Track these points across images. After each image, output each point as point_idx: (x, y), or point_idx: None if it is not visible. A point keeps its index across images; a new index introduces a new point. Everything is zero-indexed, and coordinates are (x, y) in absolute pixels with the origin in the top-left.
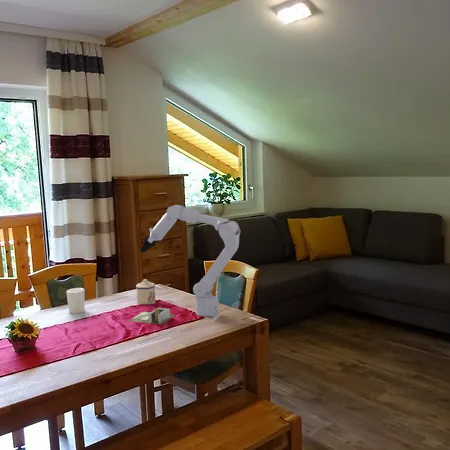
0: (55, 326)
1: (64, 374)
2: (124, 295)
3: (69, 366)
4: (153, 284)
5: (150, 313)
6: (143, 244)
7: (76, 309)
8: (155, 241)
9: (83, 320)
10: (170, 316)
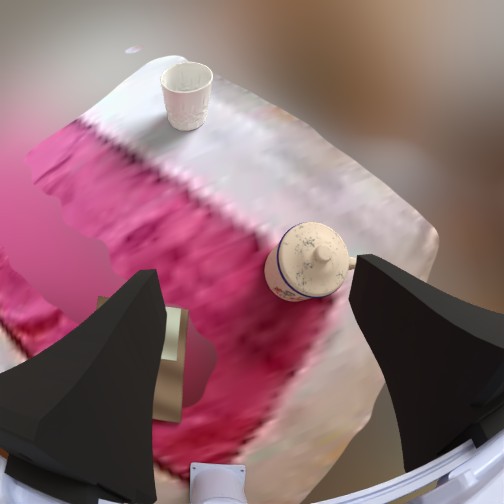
0: (82, 131)
1: None
2: (343, 176)
3: None
4: (323, 291)
5: None
6: (80, 332)
7: (168, 117)
8: (396, 386)
9: (117, 163)
10: (160, 411)
